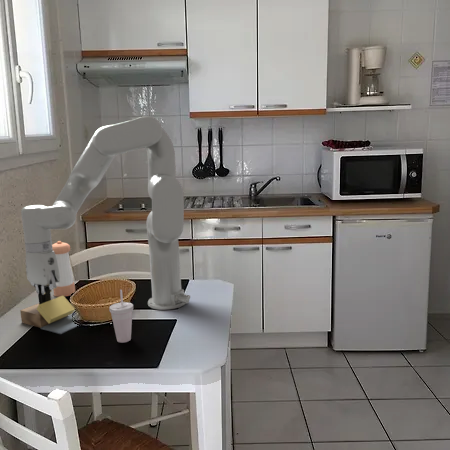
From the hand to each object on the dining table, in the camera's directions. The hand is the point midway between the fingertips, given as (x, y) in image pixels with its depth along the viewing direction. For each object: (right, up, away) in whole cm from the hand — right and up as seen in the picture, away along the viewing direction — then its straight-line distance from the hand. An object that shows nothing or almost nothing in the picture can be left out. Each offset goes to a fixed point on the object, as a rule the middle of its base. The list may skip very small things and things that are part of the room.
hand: (45, 305), depth 150 cm
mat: (+7, -5, -3) cm, 10 cm away
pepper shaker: (-2, 0, +26) cm, 26 cm away
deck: (-1, -5, +1) cm, 5 cm away
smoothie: (+27, -7, -16) cm, 32 cm away
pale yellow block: (+4, -1, -2) cm, 4 cm away
